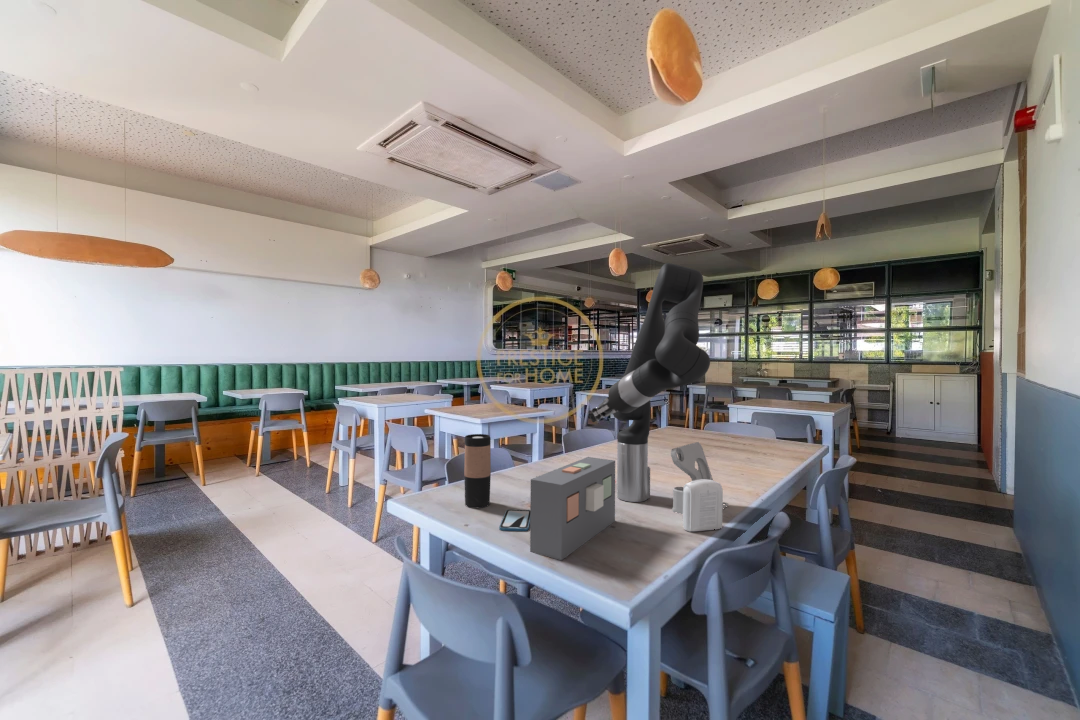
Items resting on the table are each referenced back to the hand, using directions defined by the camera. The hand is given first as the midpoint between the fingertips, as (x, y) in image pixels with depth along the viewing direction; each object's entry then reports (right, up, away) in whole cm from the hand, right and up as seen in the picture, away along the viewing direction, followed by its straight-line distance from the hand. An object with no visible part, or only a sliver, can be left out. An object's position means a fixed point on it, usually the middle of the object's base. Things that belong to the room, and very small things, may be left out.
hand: (592, 418), depth 115 cm
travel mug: (-32, -28, +16) cm, 45 cm away
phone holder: (+33, -28, +14) cm, 45 cm away
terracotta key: (-8, -20, -15) cm, 26 cm away
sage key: (+2, -20, 0) cm, 20 cm away
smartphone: (-20, -28, +4) cm, 35 cm away
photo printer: (+28, -28, -2) cm, 39 cm away
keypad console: (-5, -28, -6) cm, 29 cm away
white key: (-2, -20, -8) cm, 22 cm away
